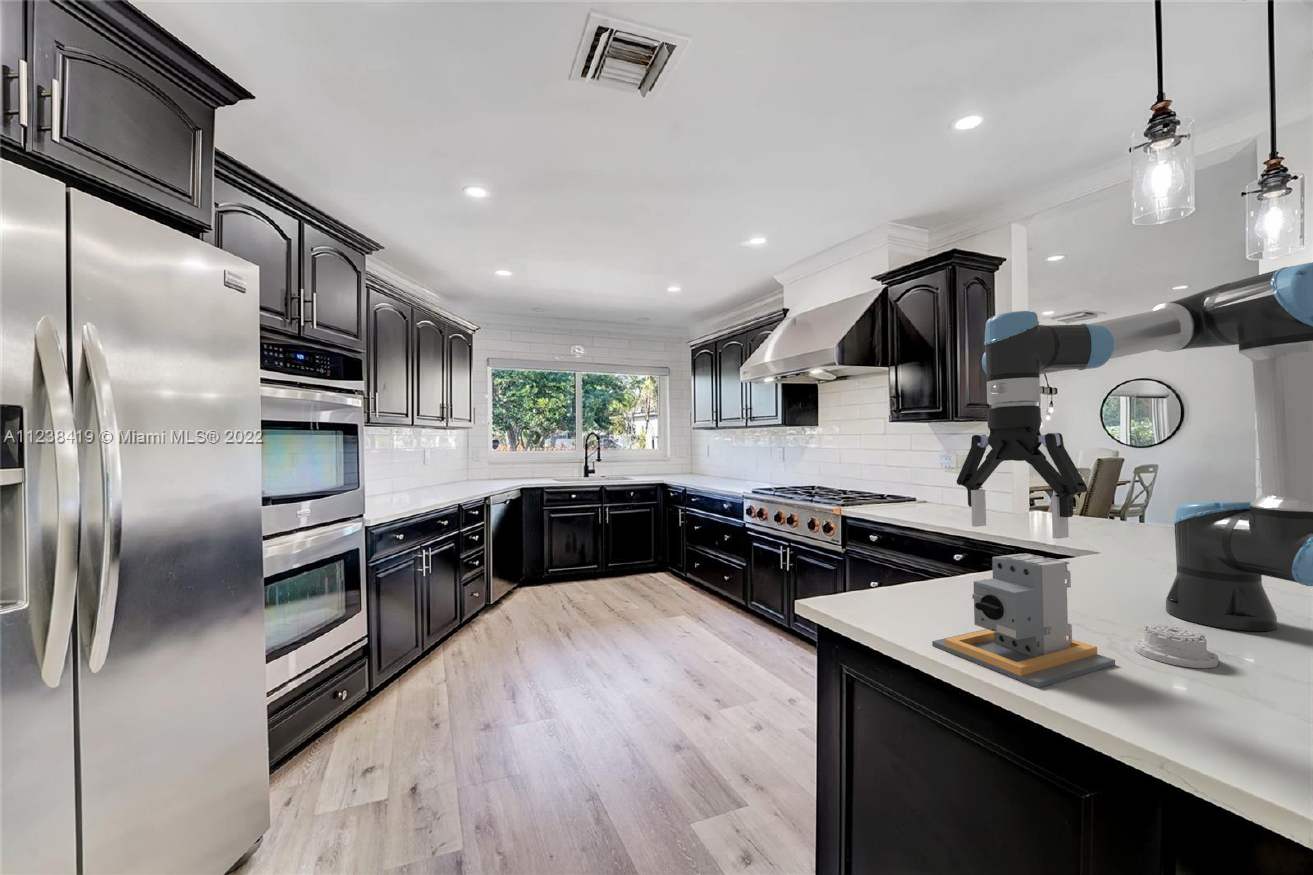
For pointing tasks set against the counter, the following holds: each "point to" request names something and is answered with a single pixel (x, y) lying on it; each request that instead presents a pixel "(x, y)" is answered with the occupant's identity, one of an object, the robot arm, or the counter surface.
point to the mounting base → (1025, 658)
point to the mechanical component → (1176, 646)
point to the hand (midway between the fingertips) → (1017, 531)
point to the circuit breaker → (1025, 604)
